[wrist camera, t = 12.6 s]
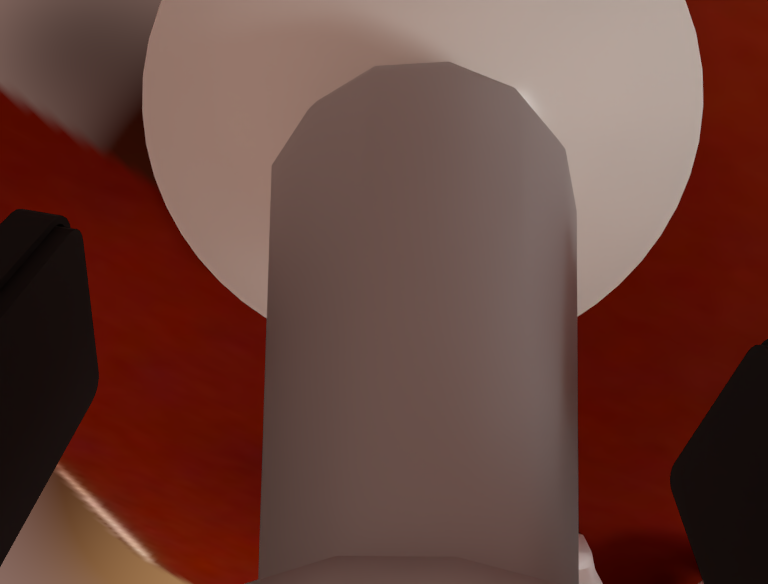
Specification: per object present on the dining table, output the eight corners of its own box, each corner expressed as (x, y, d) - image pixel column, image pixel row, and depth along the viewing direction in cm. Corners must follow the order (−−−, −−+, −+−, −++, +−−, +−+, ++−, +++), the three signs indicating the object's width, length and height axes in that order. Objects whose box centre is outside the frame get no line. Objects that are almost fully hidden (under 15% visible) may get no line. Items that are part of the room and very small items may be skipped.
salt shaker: (311, 273, 17) (115, 1053, 6) (267, 38, 13) (-292, 880, 3) (549, 263, 16) (757, 1103, 6) (566, 15, 13) (1124, 959, 2)
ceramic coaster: (647, -301, 11) (664, -308, 10) (711, 275, 17) (725, 298, 17) (46, -29, 14) (23, -18, 13) (292, 377, 20) (286, 401, 20)
